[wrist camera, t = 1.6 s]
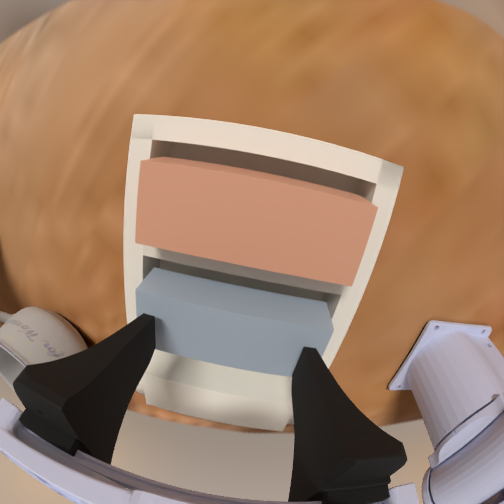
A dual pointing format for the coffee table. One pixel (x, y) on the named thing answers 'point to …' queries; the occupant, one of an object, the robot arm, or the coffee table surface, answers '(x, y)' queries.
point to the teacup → (34, 340)
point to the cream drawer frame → (269, 161)
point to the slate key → (232, 322)
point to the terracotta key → (252, 219)
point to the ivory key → (218, 392)
